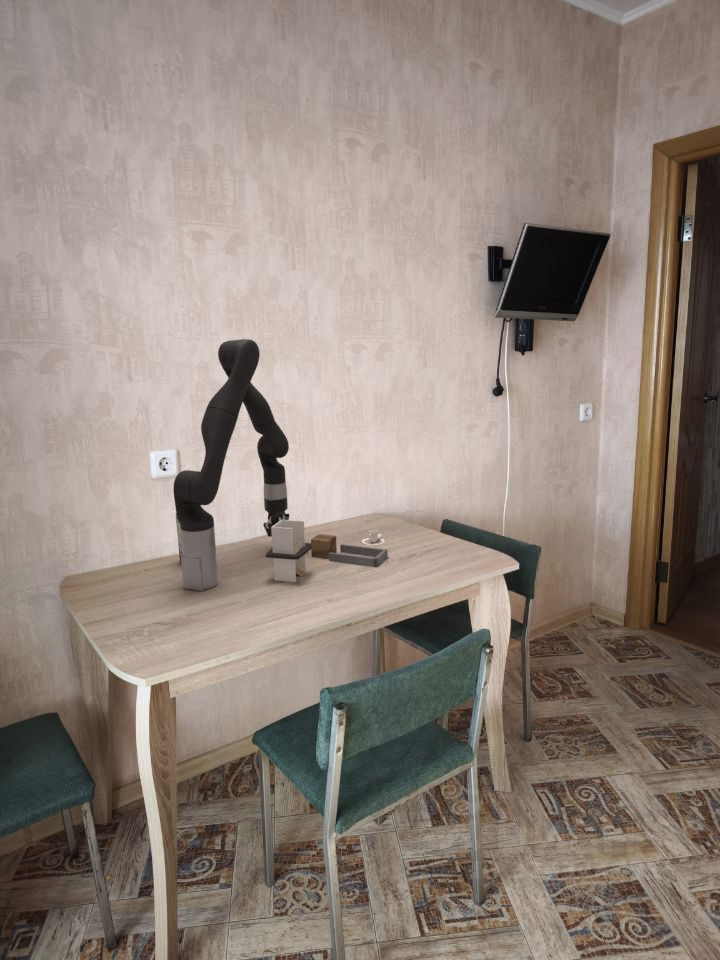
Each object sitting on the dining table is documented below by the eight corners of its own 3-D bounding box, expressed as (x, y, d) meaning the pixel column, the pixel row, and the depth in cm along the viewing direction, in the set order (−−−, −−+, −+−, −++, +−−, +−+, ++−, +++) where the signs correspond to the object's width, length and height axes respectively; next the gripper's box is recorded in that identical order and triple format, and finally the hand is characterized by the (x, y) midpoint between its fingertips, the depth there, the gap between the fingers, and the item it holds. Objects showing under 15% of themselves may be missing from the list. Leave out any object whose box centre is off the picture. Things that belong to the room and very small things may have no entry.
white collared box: (314, 597, 180) (312, 540, 176) (233, 589, 186) (229, 534, 183) (342, 565, 203) (340, 514, 200) (269, 559, 210) (266, 510, 206)
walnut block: (328, 559, 209) (327, 541, 207) (272, 551, 217) (271, 534, 215) (336, 553, 214) (336, 535, 213) (281, 546, 222) (281, 529, 221)
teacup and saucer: (375, 536, 231) (375, 525, 230) (391, 542, 225) (391, 530, 224) (356, 542, 225) (356, 531, 224) (372, 548, 219) (372, 536, 218)
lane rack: (376, 567, 201) (376, 559, 200) (328, 560, 207) (328, 553, 206) (387, 556, 209) (387, 549, 209) (341, 551, 216) (341, 543, 215)
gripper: (276, 490, 223) (278, 539, 227) (254, 500, 211) (257, 551, 214) (295, 491, 220) (297, 541, 224) (274, 502, 208) (277, 554, 212)
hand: (278, 546), depth 219 cm, fingers closed on walnut block, 2 cm apart
